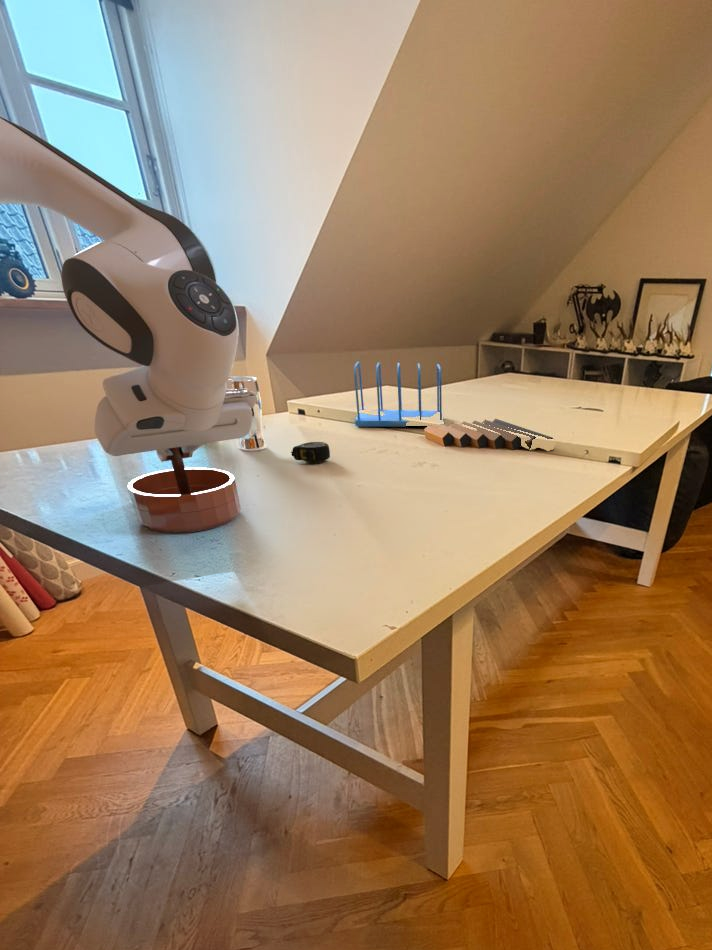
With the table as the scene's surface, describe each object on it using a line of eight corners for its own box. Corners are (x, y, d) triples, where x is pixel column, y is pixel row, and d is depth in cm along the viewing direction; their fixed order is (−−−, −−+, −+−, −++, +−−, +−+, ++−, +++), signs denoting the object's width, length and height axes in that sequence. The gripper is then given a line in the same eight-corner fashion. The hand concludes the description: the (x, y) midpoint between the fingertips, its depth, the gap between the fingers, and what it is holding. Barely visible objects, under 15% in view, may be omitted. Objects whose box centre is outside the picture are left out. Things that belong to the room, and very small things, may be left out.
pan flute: (555, 450, 138) (500, 430, 155) (557, 436, 136) (500, 418, 153) (474, 461, 126) (423, 438, 143) (474, 446, 124) (423, 424, 141)
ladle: (173, 520, 84) (142, 406, 75) (172, 509, 87) (142, 400, 78) (209, 516, 86) (182, 405, 77) (206, 506, 89) (180, 399, 80)
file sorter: (441, 417, 168) (441, 362, 160) (444, 429, 154) (445, 369, 145) (360, 415, 165) (355, 359, 157) (355, 427, 151) (350, 366, 142)
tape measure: (312, 456, 124) (310, 439, 122) (337, 460, 122) (335, 443, 120) (292, 462, 119) (289, 445, 117) (317, 467, 116) (315, 449, 114)
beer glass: (250, 443, 131) (238, 375, 123) (274, 446, 130) (264, 377, 122) (230, 449, 126) (216, 378, 118) (255, 452, 124) (242, 381, 116)
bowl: (139, 540, 80) (126, 501, 77) (139, 508, 91) (128, 472, 88) (247, 526, 87) (240, 489, 83) (235, 498, 98) (228, 464, 94)
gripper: (248, 369, 78) (229, 429, 89) (87, 379, 65) (89, 447, 76) (269, 407, 78) (248, 462, 89) (113, 424, 65) (110, 486, 76)
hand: (174, 455), depth 82 cm, fingers closed on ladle
